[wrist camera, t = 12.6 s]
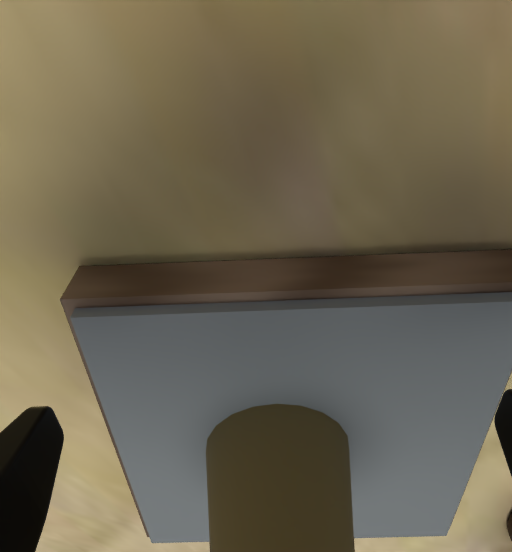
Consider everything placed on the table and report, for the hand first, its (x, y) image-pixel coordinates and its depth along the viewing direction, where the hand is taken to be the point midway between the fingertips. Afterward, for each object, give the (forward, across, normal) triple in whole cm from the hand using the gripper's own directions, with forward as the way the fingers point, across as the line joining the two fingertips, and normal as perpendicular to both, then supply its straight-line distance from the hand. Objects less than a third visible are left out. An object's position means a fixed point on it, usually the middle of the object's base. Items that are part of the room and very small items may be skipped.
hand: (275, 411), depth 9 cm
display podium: (+8, -1, +9) cm, 12 cm away
